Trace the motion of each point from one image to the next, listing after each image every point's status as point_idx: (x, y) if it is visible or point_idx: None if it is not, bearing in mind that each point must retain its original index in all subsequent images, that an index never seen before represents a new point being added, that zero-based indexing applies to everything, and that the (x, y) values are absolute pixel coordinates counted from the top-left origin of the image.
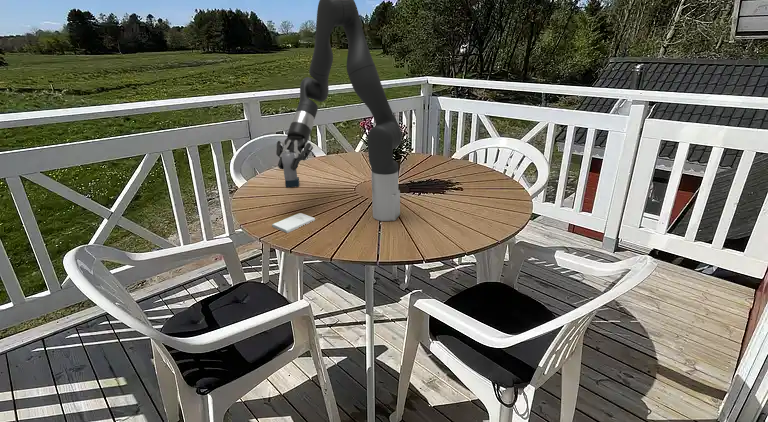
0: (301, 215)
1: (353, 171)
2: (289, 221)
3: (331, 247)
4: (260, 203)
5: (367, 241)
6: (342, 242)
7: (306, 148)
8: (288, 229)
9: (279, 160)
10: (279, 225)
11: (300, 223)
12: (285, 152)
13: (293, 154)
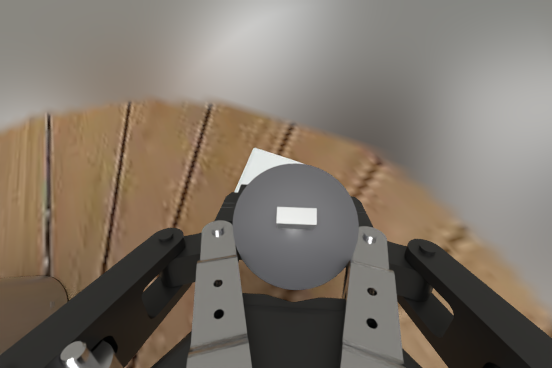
0: None
1: None
2: None
3: (140, 125)
4: None
5: (72, 166)
6: (123, 148)
7: (73, 308)
8: (252, 153)
9: (367, 220)
10: (283, 163)
11: (239, 188)
12: (344, 255)
13: (233, 220)
